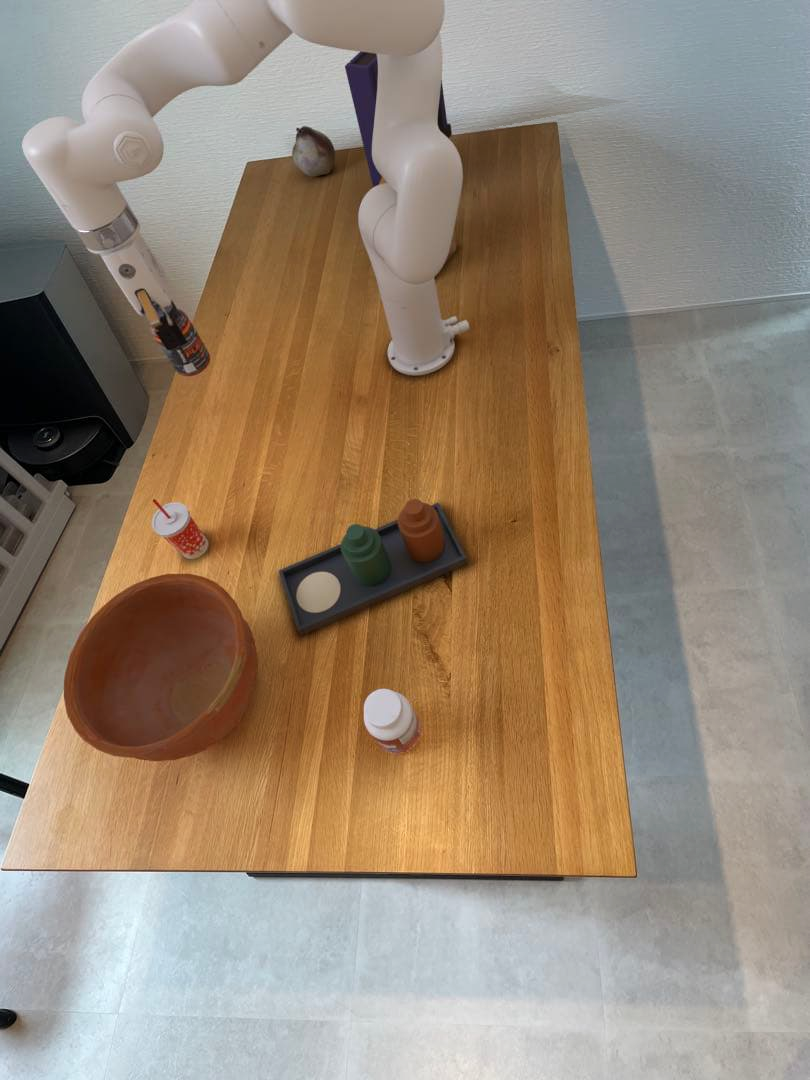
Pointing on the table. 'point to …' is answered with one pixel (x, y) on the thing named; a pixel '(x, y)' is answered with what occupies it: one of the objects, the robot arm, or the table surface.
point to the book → (364, 98)
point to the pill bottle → (391, 721)
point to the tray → (360, 596)
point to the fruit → (313, 152)
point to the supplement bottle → (189, 355)
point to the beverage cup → (179, 529)
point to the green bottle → (366, 555)
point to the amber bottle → (421, 531)
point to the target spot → (318, 592)
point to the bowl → (161, 670)
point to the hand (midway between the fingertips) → (173, 331)
